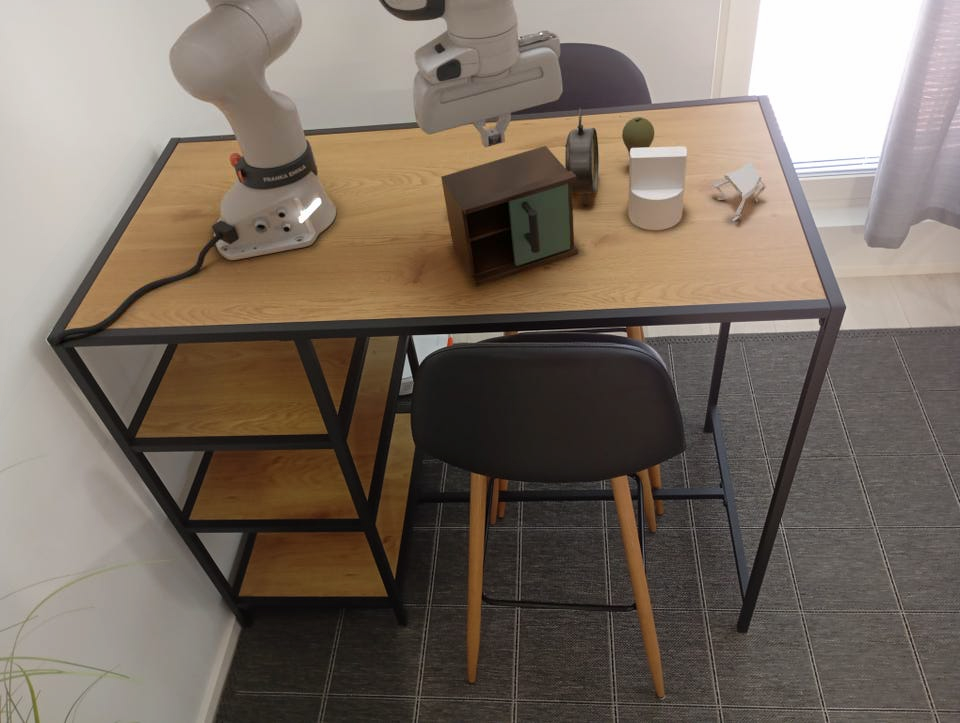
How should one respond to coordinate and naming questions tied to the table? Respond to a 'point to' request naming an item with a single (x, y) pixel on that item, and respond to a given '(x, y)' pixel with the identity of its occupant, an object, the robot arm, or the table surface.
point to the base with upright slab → (656, 186)
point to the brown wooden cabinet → (499, 210)
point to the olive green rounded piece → (638, 133)
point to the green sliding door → (540, 224)
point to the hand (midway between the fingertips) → (493, 143)
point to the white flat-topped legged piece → (742, 184)
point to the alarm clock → (583, 159)
